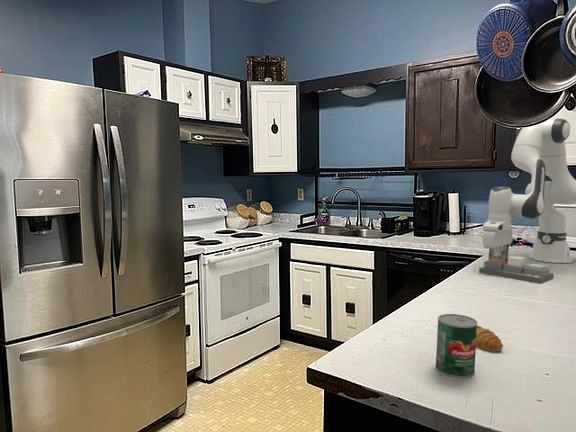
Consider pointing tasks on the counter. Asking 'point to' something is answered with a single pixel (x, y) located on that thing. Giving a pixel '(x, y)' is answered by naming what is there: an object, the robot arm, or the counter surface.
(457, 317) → the canned tomato
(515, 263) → the key cream
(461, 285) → the counter surface
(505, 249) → the coffee box
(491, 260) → the key rust
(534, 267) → the key sage
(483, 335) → the pastry
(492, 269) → the keypad base
